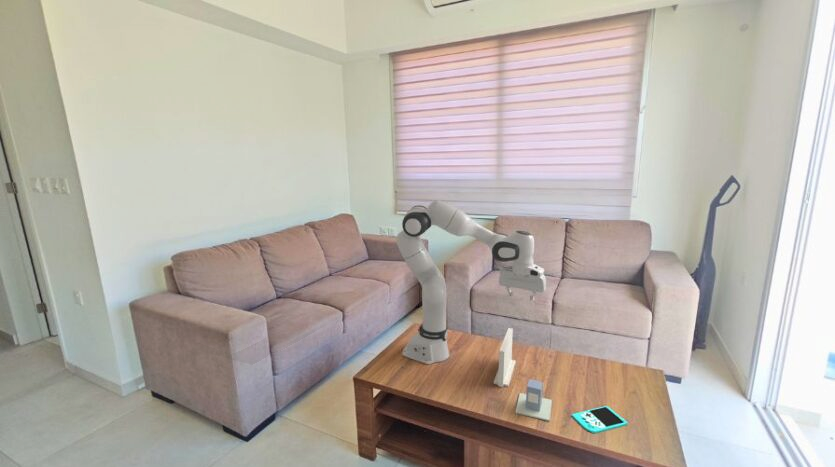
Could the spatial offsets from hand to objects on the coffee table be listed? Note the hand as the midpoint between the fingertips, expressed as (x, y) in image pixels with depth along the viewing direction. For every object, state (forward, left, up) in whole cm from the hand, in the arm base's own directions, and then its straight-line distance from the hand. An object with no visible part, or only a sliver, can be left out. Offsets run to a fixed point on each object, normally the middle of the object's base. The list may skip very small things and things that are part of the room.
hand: (521, 298), depth 166 cm
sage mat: (+10, -30, -31) cm, 44 cm away
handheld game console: (+32, -28, -32) cm, 54 cm away
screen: (-4, -11, -31) cm, 33 cm away
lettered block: (+10, -30, -30) cm, 44 cm away
